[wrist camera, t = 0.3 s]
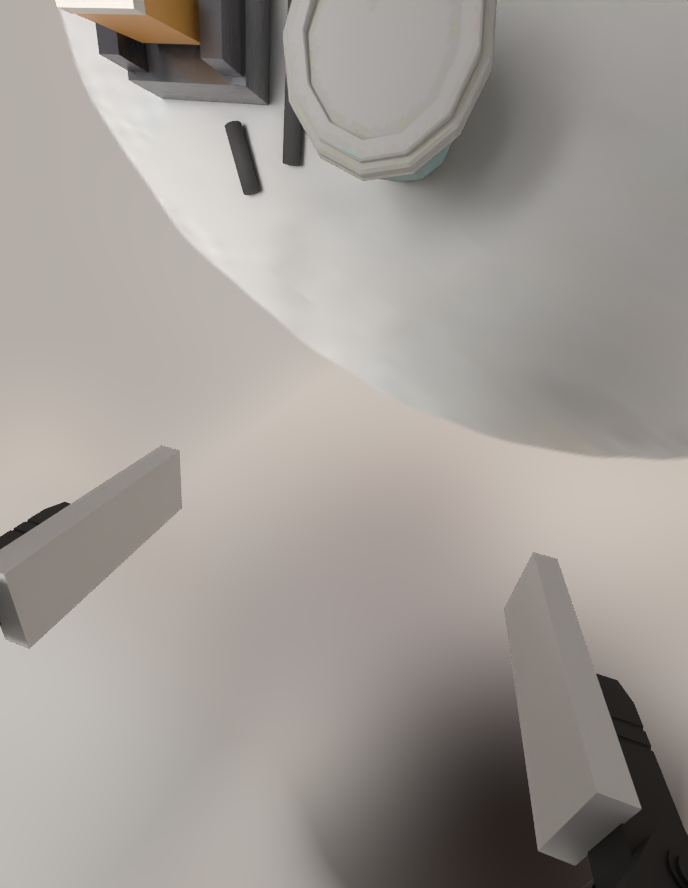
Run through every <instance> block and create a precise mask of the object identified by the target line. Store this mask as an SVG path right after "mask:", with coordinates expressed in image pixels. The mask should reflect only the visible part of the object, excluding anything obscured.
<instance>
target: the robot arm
mask: <svg viewBox="0 0 688 888" xmlns="http://www.w3.org/2000/svg"><path fill="white" fill-rule="evenodd" d="M179 454H180V453H179V450H176V449H172V448H169V447H165V446H160V447H158V448H157V449H155V450H154V451H152V452H151V453H149V454H147V455H146V456H145V457H143V458H141V459H140V460H138V461H137V462H135V463H134V464H132V465H130V466H129V467H127V468H126V469H124V470H123V471H121V472H120V473H118V474H117V475H115V476H113V477H112V478H111V479H109V480H107V481H106V482H104V483H103V484H101V485H99V486H98V487H96V488H95V489H93V490H92V491H90V492H89V493H87V494H86V495H84V496H83V497H81V498H79V499H78V500H76V501H75V502H73V503H72V504H70V503H67V502H63V503H61V504H58V505H55V506H52V507H50V508H47V509H44V510H43V511H41V512H40V513H38V514H36V515H35V516H33V517H31V518H30V519H28V521H27V522H23V523H22V524H20V525H18V526H17V527H15V528H14V530H13V531H11V530H10V531H9V532H7V533H5V534H4V535H3V536H1V537H0V626H1V629H2V631H3V634H4V637H5V639H6V640H9V641H11V642H14V643H16V644H19V645H21V646H24V647H26V648H29V649H30V647H32V646H33V645H34V644H35V643H36V642H37V641H38V640H39V639H40V638H41V637H43V636H44V635H45V634H46V633H47V632H48V631H49V630H50V629H51V628H52V627H53V626H54V625H56V624H57V623H58V622H59V621H60V620H61V619H62V618H63V617H64V616H65V615H66V614H68V612H70V610H72V609H73V608H74V607H75V606H76V605H77V604H78V603H79V602H81V601H82V600H83V598H85V597H86V596H87V595H88V594H89V593H90V592H91V591H92V590H93V589H95V588H96V587H97V586H98V585H99V584H100V583H101V582H102V581H103V580H104V579H105V578H106V577H108V576H109V575H110V574H111V573H112V572H113V571H114V570H115V569H116V568H117V567H118V566H119V565H121V563H123V562H124V561H125V560H126V559H127V558H128V557H129V556H130V555H131V554H132V553H134V552H135V551H136V550H137V549H138V548H139V547H140V546H141V545H142V544H143V543H144V542H146V540H148V539H149V538H150V537H151V536H152V535H153V534H154V533H155V532H156V531H157V530H159V529H160V527H162V526H163V525H164V524H165V523H166V522H167V521H168V520H169V519H170V518H171V517H173V516H174V515H175V514H176V513H177V512H178V511H179V510H180V509H181V508H182V501H181V476H180V455H179ZM504 611H505V617H506V625H507V633H508V640H509V647H510V654H511V661H512V668H513V675H514V682H515V690H516V697H517V704H518V710H519V718H520V725H521V732H522V739H523V747H524V753H525V761H526V768H527V775H528V782H529V789H530V797H531V804H532V811H533V818H534V825H535V832H536V839H537V846H538V851H540V852H542V853H545V854H547V855H550V856H552V857H555V858H557V859H560V860H563V861H565V862H567V863H570V864H572V865H576V864H578V862H580V861H581V860H582V859H583V858H585V856H587V855H588V857H589V861H590V865H591V871H592V875H593V880H592V881H590V882H589V883H588V884H587V885H585V886H584V887H583V888H688V835H687V833H686V831H685V829H684V827H683V825H682V822H681V819H680V817H679V814H678V812H677V809H676V807H675V804H674V802H673V799H672V797H671V794H670V792H669V789H668V787H667V785H666V782H665V779H664V777H663V775H662V772H661V769H660V767H659V764H658V762H657V759H656V757H655V755H654V752H653V751H651V745H650V742H649V740H648V737H647V735H646V732H645V731H643V725H642V722H641V720H640V717H639V715H638V712H637V710H636V707H635V705H634V703H633V701H632V700H631V699H630V697H629V696H628V694H627V693H626V692H625V690H624V689H623V688H622V686H621V685H620V683H619V682H618V681H617V680H614V679H611V678H608V677H605V676H602V675H599V674H596V672H595V669H594V667H593V663H592V660H591V658H590V655H589V652H588V649H587V646H586V643H585V640H584V637H583V634H582V631H581V628H580V625H579V622H578V619H577V616H576V613H575V611H574V608H573V604H572V601H571V598H570V596H569V593H568V590H567V587H566V584H565V581H564V578H563V575H562V572H561V569H560V566H559V563H558V560H557V559H555V558H551V557H548V556H545V555H541V554H538V553H534V552H533V554H532V556H531V557H530V559H529V562H528V563H527V565H526V567H525V569H524V571H523V573H522V575H521V577H520V579H519V581H518V583H517V585H516V586H515V588H514V590H513V592H512V594H511V596H510V598H509V600H508V602H507V604H506V606H505V608H504Z"/></svg>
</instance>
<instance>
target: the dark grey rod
mask: <svg viewBox="0 0 688 888" xmlns="http://www.w3.org/2000/svg"><path fill="white" fill-rule="evenodd" d="M291 1H292V0H288V12H289V9H290V5H291ZM300 141H301V123H300V121H299V119H298V117H297V116H296V114H295V112H294V110H293V108H292V106H291V104H290V103H289V96H288V86H287V76H286V79H285V109H284V140H283V163H284V164H287V165H293V166H299V162H300Z"/></svg>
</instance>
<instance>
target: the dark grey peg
mask: <svg viewBox="0 0 688 888" xmlns="http://www.w3.org/2000/svg"><path fill="white" fill-rule="evenodd" d="M225 129H226V132H227V136H228V139H229V143H230V147H231V150H232V154H233V157H234V161H235V164H236V168H237V172H238V175H239V179H240V182H241V186H242V189H243V193H244V195H251V194H255V193H257V192H259V188H258V184H257V181H256V177H255V173H254V169H253V166H252V162H251V158H250V155H249V151H248V147H247V143H246V140H245V136H244V132H243V128H242V125H241V122H239V121H232V122H229V123H227V124H226V125H225Z"/></svg>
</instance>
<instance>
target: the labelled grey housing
mask: <svg viewBox="0 0 688 888" xmlns="http://www.w3.org/2000/svg"><path fill="white" fill-rule="evenodd" d="M198 6H199V31H200V45H191V44H162V43H141V42H139V41H137V40H134V39H132V38H130V37H128V36H125V35H123V34H121V33H118V32H116V31H114V30H111V29H109V28H107V27H105V26H102V25H100V24H98V23H96V30H97V38H98V46H99V54H100V55H102V56H104V57H106V58H107V59H109V60H111V61H113V62H114V63H116V64H118V65H119V66H121V67H123V68H125V69H126V70H128V77H129V80H130V81H132V82H133V83H135V84H137V85H139V86H141V87H142V88H144V89H146V90H148V91H150V92H151V93H153V94H155V95H157V96H159V97H161V98H164V99H180V100H196V101H212V102H228V103H244V104H261V105H268V92H269V37H270V0H198Z"/></svg>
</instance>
